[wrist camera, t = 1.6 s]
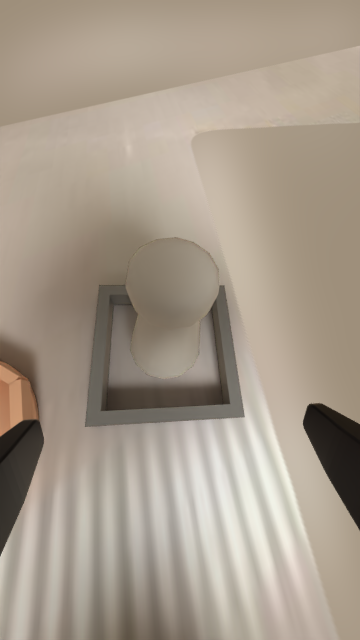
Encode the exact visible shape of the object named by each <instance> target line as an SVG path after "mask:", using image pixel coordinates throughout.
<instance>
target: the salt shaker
mask: <svg viewBox="0 0 360 640" xmlns="http://www.w3.org/2000/svg"><path fill="white" fill-rule="evenodd" d="M126 290H127V293H128V295H129V298H130V300H131V302H132V305H133V307H134V310H135V311H136V312H137V313H138V317H137V320H136V323H135V327H134V330H133V334H132V340H131V346H130V351H131V353H132V356H133V358H134V361H135V363H136V364H137V365H138V366H139V367H140V368H141V369H142V370H143V371H144V372H145V373H146V374H147V375H150V376H153V377H157V378H161V379H167V378H173V377H179V376H181V375H182V374H183V373H185V372H186V371H187V370H189V369H190V368H191V367H192V366H193V364H194V363H195V361H196V359H197V357H198V355H199V344H200V320H201V319H202V318H204V317H205V316H206V315H207V314H208V312H209V310H210V309H211V307H212V305H213V303H214V301H215V299H216V298H217V296H218V293H219V271H218V267H217V266H216V264H215V262H214V260H213V259H212V257H211V255H210V253H208V252H207V251H205V250H204V249H202V248H201V247H200V246H198V245H197V244H195V243H194V242H191V241H187V240H184V239H180V238H165V239H156V240H154V241H152V242H150V243H148V244H146V245H144V246H142V247H140V248H139V249H138V251H137V252H136V253H135V254H134V256H133V257H132V258H131V260H130V261H129V265H128V271H127V277H126Z"/></svg>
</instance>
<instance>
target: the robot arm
mask: <svg viewBox="0 0 360 640" xmlns="http://www.w3.org/2000/svg"><path fill="white" fill-rule="evenodd" d="M303 426H304V429H305V431H306V433H307V435H308V437H309V439H310V442H311V444H312V446H313V448H314V450H315V452H316V454H317V456H318V458H319V460H320V462H321V464H322V466H323V468H324V470H325V472H326V474H327V476H328V477H329V479H330V481H331V483H332V484H333V486H334V488H335V490H336V491H337V493H338V495H339V496H340V498H341V500H342V501H343V503H344V505H345V506H346V508H347V510H348V511H349V513H350V515H351V517H352V518H353V520H354V522H355V523H356V525H357V526H358V528H359V530H360V424H358V423H356V422H355V421H353V420H351V419H349V418H347V417H345V416H344V415H342V414H340V413H338V412H336V411H335V410H332V409H331V408H329V407H327V406H325V405H323V404H320V403H315V404H309V405H308V406H307V410H306V413H305V416H304V420H303ZM43 444H44V437H43V433H42V429H41V426H40V422H39V421H38V420H37V419H27V420H23V421H21V422H19V423H18V424H17V425H15V426H14V427H12V428H11V429H10V430H8V431H7V432H5V433H4V434H3V435H1V436H0V556H1V553H2V551H3V549H4V547H5V544H6V542H7V540H8V537H9V535H10V533H11V531H12V528H13V526H14V524H15V522H16V519H17V517H18V515H19V513H20V510H21V508H22V505H23V503H24V500H25V498H26V495H27V492H28V489H29V486H30V483H31V480H32V477H33V474H34V471H35V468H36V466H37V463H38V460H39V457H40V454H41V451H42V448H43Z"/></svg>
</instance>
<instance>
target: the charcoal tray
mask: <svg viewBox="0 0 360 640" xmlns="http://www.w3.org/2000/svg"><path fill="white" fill-rule="evenodd" d="M113 305H132V302H131V300H130V298H129V295H128V293H127V290H126V285H99V294H98V304H97V314H96V324H95V333H94V343H93V353H92V363H91V373H90V383H89V393H88V402H87V412H86V422H85V427H90V426H106V425H123V424H139V423H156V422H172V421H189V420H205V419H221V418H238V417H245V416H244V410H243V403H242V397H241V391H240V384H239V378H238V371H237V365H236V358H235V352H234V345H233V339H232V332H231V326H230V319H229V313H228V306H227V300H226V293H225V287H224V286H219V293H218V296H217V298H216V299H215V301H214V303H213V305H212V315H213V323H214V331H215V339H216V347H217V356H218V364H219V372H220V380H221V388H222V396H223V404H224V405H205V406H187V407H168V408H150V409H132V410H113V411H106V404H107V390H108V376H109V361H110V347H111V333H112V319H113Z"/></svg>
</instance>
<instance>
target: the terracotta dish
mask: <svg viewBox="0 0 360 640" xmlns="http://www.w3.org/2000/svg"><path fill="white" fill-rule="evenodd" d="M27 419H37V420H38V421H39V413H38V406H37V401H36V398H35V395H34V392H33V390H32V388H31V386H30V382H29V381H28V379H27V378H26V377H24V376H23V375H22V374H21V373H20V372H19V371H18V370H16V369H15V368H13V367H12V366H10V365H8V364H6V363H4V362H2V361H0V436H1V435H3V434H4V433H5V432H7V431H8V430H10V429H11V428H12V427H14V426H15V425H17V424H18V423H19V422H21V421H23V420H27Z"/></svg>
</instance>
